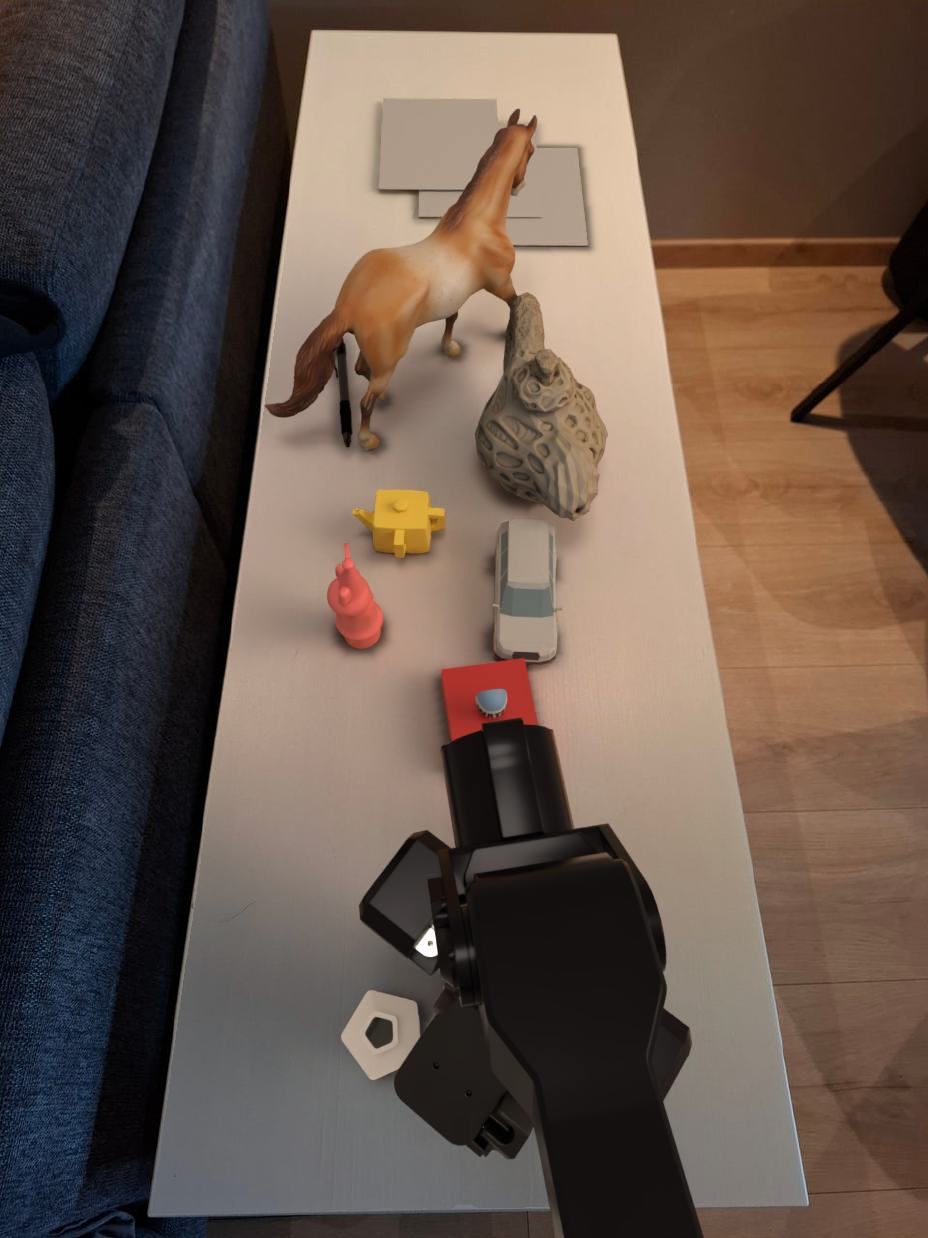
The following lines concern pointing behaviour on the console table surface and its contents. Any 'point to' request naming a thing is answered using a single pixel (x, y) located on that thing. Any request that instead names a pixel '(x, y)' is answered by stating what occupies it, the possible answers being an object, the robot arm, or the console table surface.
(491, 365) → the console table surface
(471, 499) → the console table surface
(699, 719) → the console table surface
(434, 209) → the paper stack
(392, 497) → the teapot
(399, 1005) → the white pentagonal vase
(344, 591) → the figurine
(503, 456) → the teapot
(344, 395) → the pen
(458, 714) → the red box
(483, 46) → the console table surface
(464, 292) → the horse figurine
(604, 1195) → the robot arm
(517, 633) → the toy car
